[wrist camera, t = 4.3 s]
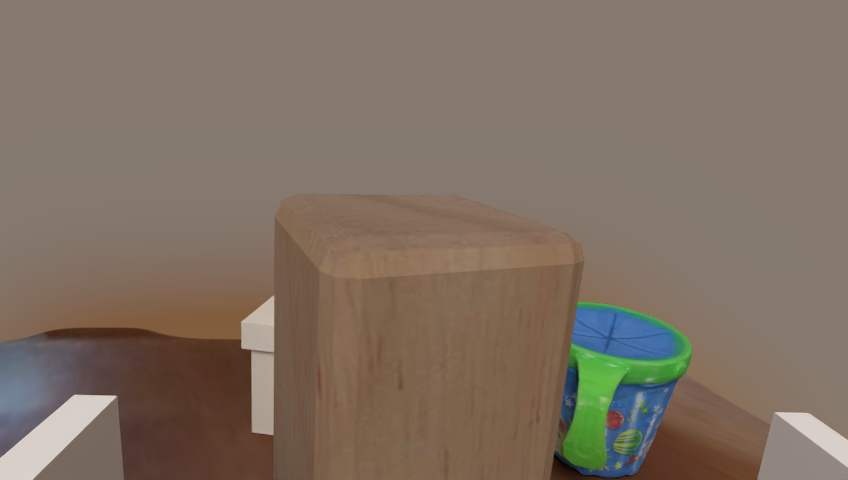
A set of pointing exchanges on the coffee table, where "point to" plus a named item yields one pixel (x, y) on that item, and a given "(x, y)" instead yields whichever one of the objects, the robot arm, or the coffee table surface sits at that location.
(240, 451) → the coffee table surface
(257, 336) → the footstool
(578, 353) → the snack cup
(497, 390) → the block
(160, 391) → the coffee table surface
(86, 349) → the coffee table surface
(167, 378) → the coffee table surface
